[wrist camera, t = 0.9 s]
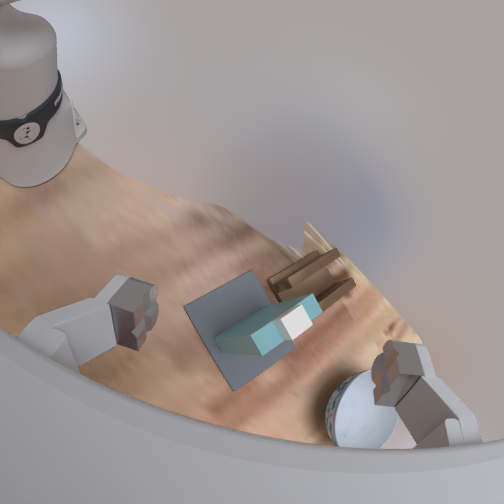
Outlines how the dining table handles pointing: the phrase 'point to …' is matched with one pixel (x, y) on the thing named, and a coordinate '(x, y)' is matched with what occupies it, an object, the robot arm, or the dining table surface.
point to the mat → (227, 315)
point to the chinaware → (359, 415)
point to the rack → (311, 280)
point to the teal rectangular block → (269, 327)
